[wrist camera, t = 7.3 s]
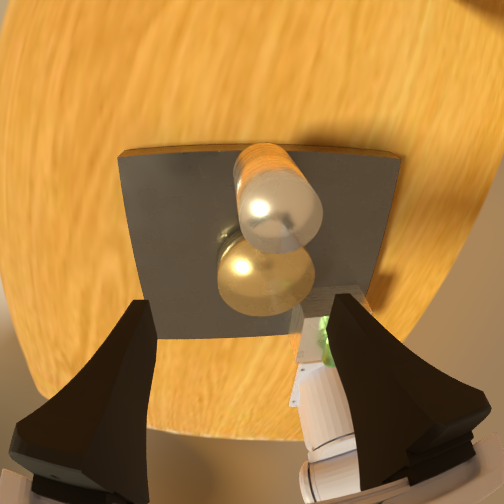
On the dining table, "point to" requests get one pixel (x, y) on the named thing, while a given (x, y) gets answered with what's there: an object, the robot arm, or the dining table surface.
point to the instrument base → (227, 223)
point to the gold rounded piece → (269, 234)
